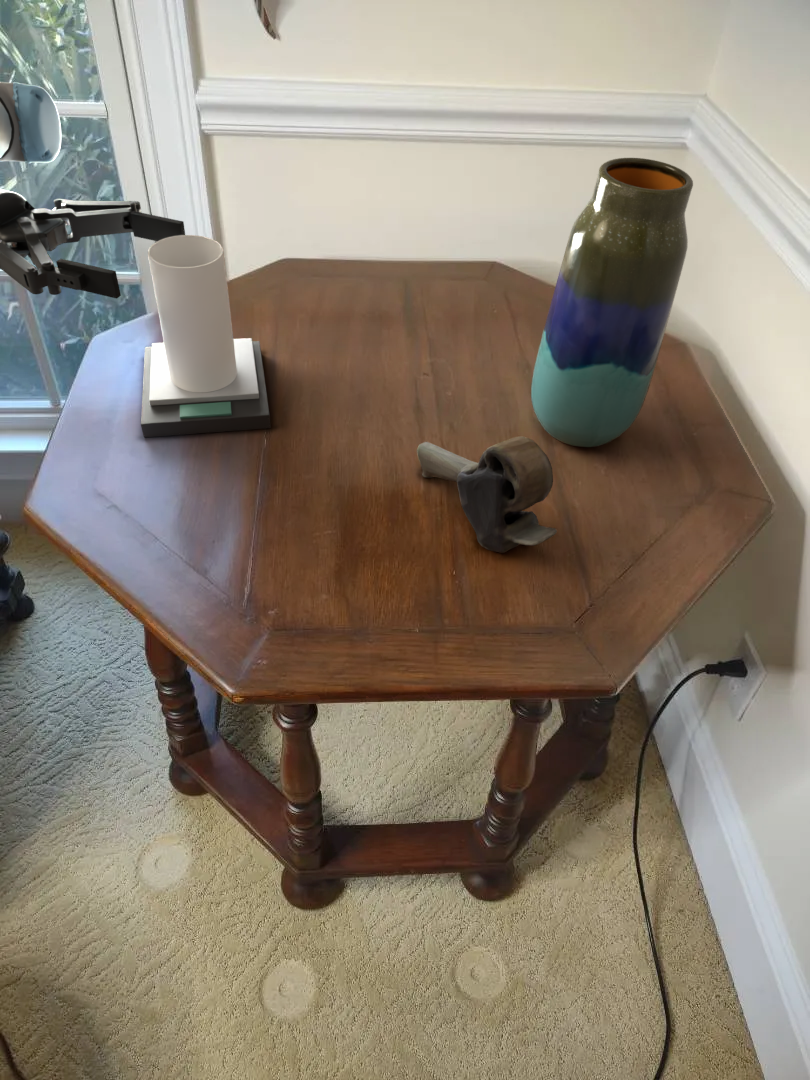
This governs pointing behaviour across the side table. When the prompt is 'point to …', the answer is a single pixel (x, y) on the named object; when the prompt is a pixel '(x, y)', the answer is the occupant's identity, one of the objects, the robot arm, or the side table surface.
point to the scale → (204, 397)
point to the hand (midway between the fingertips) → (152, 258)
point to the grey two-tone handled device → (497, 489)
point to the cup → (194, 311)
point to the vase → (612, 302)
